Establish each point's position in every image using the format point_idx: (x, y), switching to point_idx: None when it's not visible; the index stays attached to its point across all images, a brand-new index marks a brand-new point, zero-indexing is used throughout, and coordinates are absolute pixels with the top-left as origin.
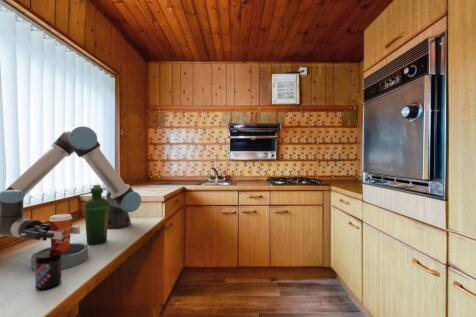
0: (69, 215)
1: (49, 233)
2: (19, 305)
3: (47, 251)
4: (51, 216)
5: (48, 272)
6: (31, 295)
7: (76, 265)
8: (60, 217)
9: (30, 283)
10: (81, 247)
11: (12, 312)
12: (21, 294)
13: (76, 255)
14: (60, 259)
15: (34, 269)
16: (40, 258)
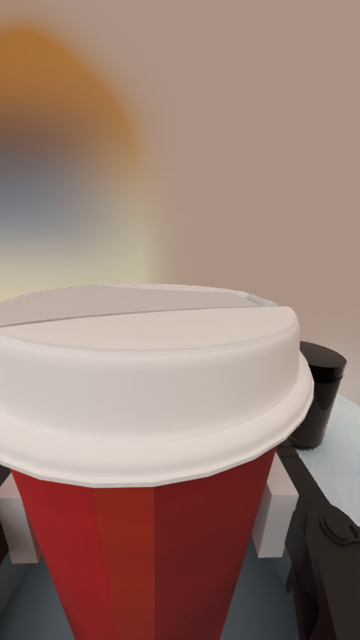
0: (126, 284)
1: (281, 459)
2: (349, 413)
3: (309, 362)
4: (266, 324)
5: None
6: (329, 426)
7: None
8: (215, 288)
9: (340, 498)
10: (9, 566)
11: (357, 405)
12: (356, 451)
13: None
14: None
15: None
16: (328, 349)
